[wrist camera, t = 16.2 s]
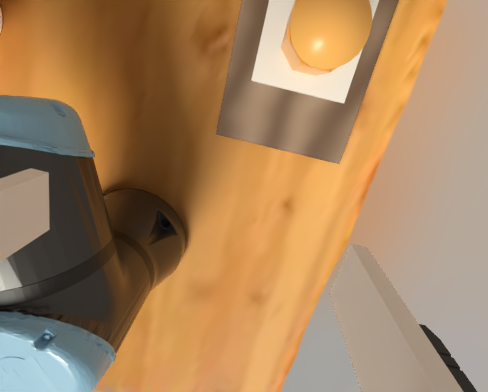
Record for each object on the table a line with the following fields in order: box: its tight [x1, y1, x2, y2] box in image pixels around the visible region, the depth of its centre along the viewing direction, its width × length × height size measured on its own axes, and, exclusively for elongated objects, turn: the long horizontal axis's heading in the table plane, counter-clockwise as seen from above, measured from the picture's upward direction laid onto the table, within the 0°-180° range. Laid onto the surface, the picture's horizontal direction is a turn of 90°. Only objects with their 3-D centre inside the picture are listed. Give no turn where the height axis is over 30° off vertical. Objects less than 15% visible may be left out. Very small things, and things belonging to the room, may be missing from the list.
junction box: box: [251, 0, 379, 103], centre depth 28 cm, size 10×10×9 cm
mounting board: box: [216, 0, 398, 164], centre depth 33 cm, size 16×24×2 cm, turn 167°
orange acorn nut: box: [281, 0, 372, 76], centre depth 25 cm, size 6×6×8 cm
